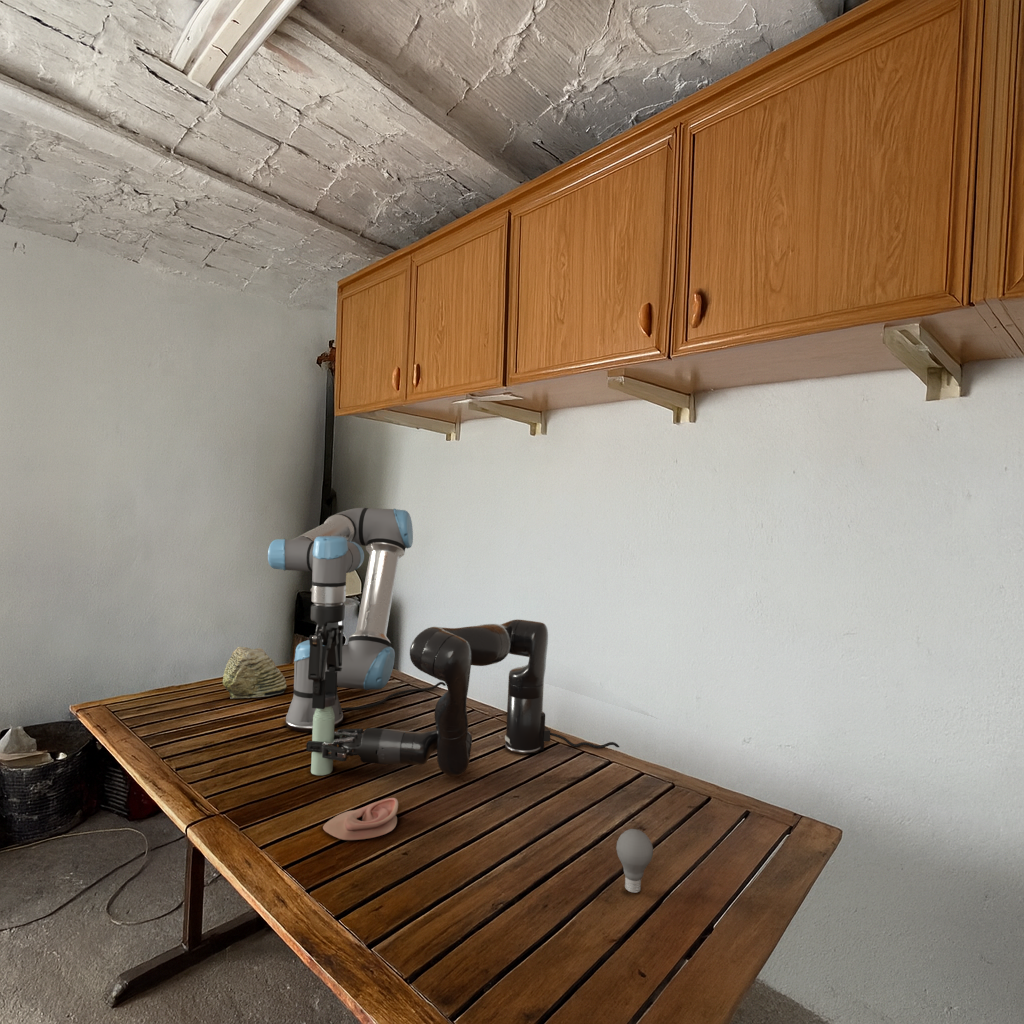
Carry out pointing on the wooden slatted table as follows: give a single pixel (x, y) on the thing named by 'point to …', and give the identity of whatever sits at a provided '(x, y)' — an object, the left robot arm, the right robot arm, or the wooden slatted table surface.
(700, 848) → the wooden slatted table surface
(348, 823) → the anatomical model
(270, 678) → the fossil
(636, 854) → the light bulb
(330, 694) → the cap
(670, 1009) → the wooden slatted table surface
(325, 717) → the bottle
